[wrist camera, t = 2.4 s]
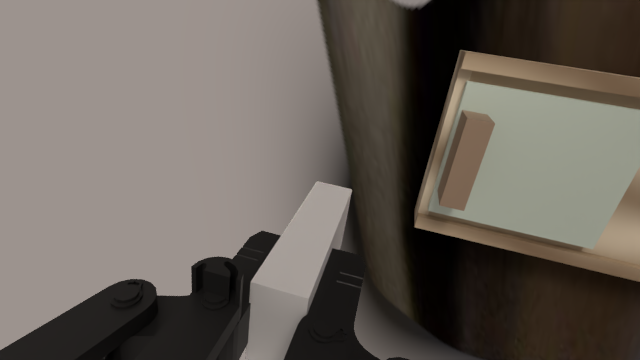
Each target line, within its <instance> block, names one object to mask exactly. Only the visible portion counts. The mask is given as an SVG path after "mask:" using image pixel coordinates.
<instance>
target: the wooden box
mask: <svg viewBox="0 0 640 360" xmlns="http://www.w3.org/2000/svg"><path fill="white" fill-rule="evenodd" d="M466 81H472V82H478V83H484V84H490V85H496V86H502V87H508V88H514V89H520V90H526V91H532V92H538V93H544V94H550V95H556V96H561V97H567V98H573V99H579V100H585V101H591V102H597V103H603V104H609V105H615V106H621V107H627V108H633V109H639V110H640V78H639V77H633V76H626V75H620V74H613V73H607V72H600V71H594V70H587V69H581V68H574V67H568V66H561V65H555V64H548V63H542V62H535V61H529V60H522V59H516V58H509V57H503V56H496V55H490V54H484V53H477V52H471V51H464V50H460V53H459V56H458V59H457V63H456V66H455V70H454V73H453V77H452V80H451V84H450V87H449V91H448V94H447V98H446V101H445V105H444V108H443V112H442V115H441V119H440V122H439V126H438V129H437V133H436V136H435V140H434V143H433V147H432V150H431V154H430V157H429V161H428V164H427V168H426V171H425V175H424V178H423V182H422V185H421V189H420V192H419V196H418V199H417V203H416V206H415V227H416V228H420V229H424V230H428V231H432V232H436V233H441V234H445V235H449V236H453V237H457V238H461V239H465V240H469V241H473V242H478V243H482V244H486V245H490V246H494V247H498V248H502V249H506V250H510V251H515V252H519V253H523V254H527V255H531V256H535V257H539V258H543V259H547V260H552V261H556V262H560V263H564V264H568V265H572V266H576V267H580V268H585V269H589V270H593V271H597V272H601V273H605V274H609V275H613V276H617V277H622V278H626V279H630V280H634V281H638V282H640V167H639V169H638V171H637V172H636V174H635V176H634V178H633V180H632V181H631V183H630V185H629V187H628V188H627V190H626V192H625V194H624V195H623V197H622V199H621V201H620V203H619V204H618V206H617V208H616V210H615V211H614V213H613V215H612V217H611V218H610V220H609V222H608V224H607V225H606V227H605V229H604V231H603V233H602V234H601V236H600V238H599V240H598V241H597V243H596V245H595V247H594V248H593V249H589V248H585V247H581V246H576V245H572V244H568V243H564V242H559V241H555V240H551V239H546V238H542V237H538V236H534V235H529V234H525V233H521V232H516V231H512V230H508V229H504V228H499V227H495V226H491V225H487V224H482V223H478V222H474V221H469V220H465V219H461V218H457V217H452V216H448V215H444V214H439V213H435V212H431V211H428V205H429V202H430V198H431V195H432V192H433V189H434V185H435V182H436V179H437V175H438V172H439V169H440V166H441V162H442V159H443V156H444V152H445V149H446V146H447V143H448V139H449V136H450V133H451V129H452V126H453V123H454V120H455V116H456V113H457V110H458V106H459V103H460V100H461V97H462V93H463V90H464V87H465V83H466Z"/></svg>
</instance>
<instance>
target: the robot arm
mask: <svg viewBox="0 0 640 360" xmlns="http://www.w3.org/2000/svg"><path fill="white" fill-rule="evenodd" d="M351 193H352V189H348V188H343V187H340V186H335V185H331V184H327V183H322V182H318V181H317V182H316V183H315V185H314V187H313V188H312V189H311V191H310V193H309V194H308V196H307V197H306V199H305V200H304V202H303V203H302V205H301V206H300V208H299V209H298V211H297V212H296V214H295V215H294V217H293V218H292V220H291V221H290V223H289V225H288V226H287V227H286V229H285V230H284V232H283V233H282V235H281V236H280V235H276V234H273V233H269V232H265V231H261V232H259V233H257V234H255V235H253V236H251V237H250V238H249V239H248V240H247V242H246V243H245V244H244V246H243V248H241V249H240V250H239V252H238V253H237V255H236V256H235V257H234V258H233V259H230V258H225V257H211V258H206V259H204V260H201V261H198V262H197V263H196V264H194V265H193V266H192V293H191V294H190V295H188V296H157V293H156V287H154V285H153V284H152V283H150V282H148V281H145V280H141V279H139V280H138V279H130V280H125V281H121V282H118V283H116V284H113V285H111V286H109V287H107V288H106V289H104V290H102V291H101V292H99V293H97V294H95V295H94V296H92V297H90V298H89V299H87V300H85V301H83V302H82V303H80V304H78V305H77V306H75V307H73V308H72V309H70V310H68V311H66V312H65V313H63V314H61V315H60V316H58V317H57V318H55V319H53V320H51V321H49V322H48V323H46V324H44V325H43V326H41V327H39V328H38V329H36V330H34V331H32V332H31V333H29V334H27V335H26V336H24V337H22V338H20V339H19V340H17V341H15V342H14V343H12V344H10V345H9V346H7V347H5V348H4V349H2V350H0V360H239V358H240V357H241V355H242V353H243V351H244V349H245V347H246V356H245V358H246V359H248V360H380V359H378V358H377V357H375V356H373V355H372V354H371V353H369V352H368V351H367V350H365V349H364V348H363V346H362V345H361V344H360V343H359V341H358V340H357V338H356V336H355V332H354V321H355V316H356V311H357V306H358V301H359V296H360V292H361V287H362V281H363V277H364V272H365V267H366V266H365V264H364V261H363V258H362V256H360V255H357V254H353V253H349V252H345V251H342V250H340V247H341V244H342V239H343V233H344V229H345V223H346V218H347V213H348V208H349V203H350V198H351ZM387 360H408V359H405V358H401V357H396V358H389V359H387Z"/></svg>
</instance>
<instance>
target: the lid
mask: <svg viewBox="0 0 640 360" xmlns="http://www.w3.org/2000/svg"><path fill="white" fill-rule="evenodd" d="M639 167H640V110H639V109H633V108H627V107H621V106H615V105H609V104H603V103H597V102H591V101H585V100H579V99H573V98H567V97H561V96H556V95H550V94H544V93H538V92H532V91H526V90H520V89H514V88H508V87H502V86H496V85H490V84H484V83H478V82H472V81H466V83H465V87H464V90H463V93H462V97H461V100H460V103H459V106H458V110H457V113H456V116H455V120H454V123H453V126H452V129H451V133H450V136H449V139H448V143H447V146H446V149H445V152H444V156H443V159H442V162H441V166H440V169H439V172H438V175H437V179H436V182H435V185H434V189H433V192H432V195H431V198H430V202H429V205H428V211H431V212H435V213H439V214H444V215H448V216H452V217H457V218H461V219H465V220H469V221H474V222H478V223H482V224H487V225H491V226H495V227H499V228H504V229H508V230H512V231H516V232H521V233H525V234H529V235H534V236H538V237H542V238H546V239H551V240H555V241H559V242H564V243H568V244H572V245H576V246H581V247H585V248H589V249H593V248H594V247H595V245H596V243H597V241H598V240H599V238H600V236H601V234H602V233H603V231H604V229H605V227H606V225H607V224H608V222H609V220H610V218H611V217H612V215H613V213H614V211H615V210H616V208H617V206H618V204H619V203H620V201H621V199H622V197H623V195H624V194H625V192H626V190H627V188H628V187H629V185H630V183H631V181H632V180H633V178H634V176H635V174H636V172H637V171H638V169H639Z"/></svg>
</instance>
